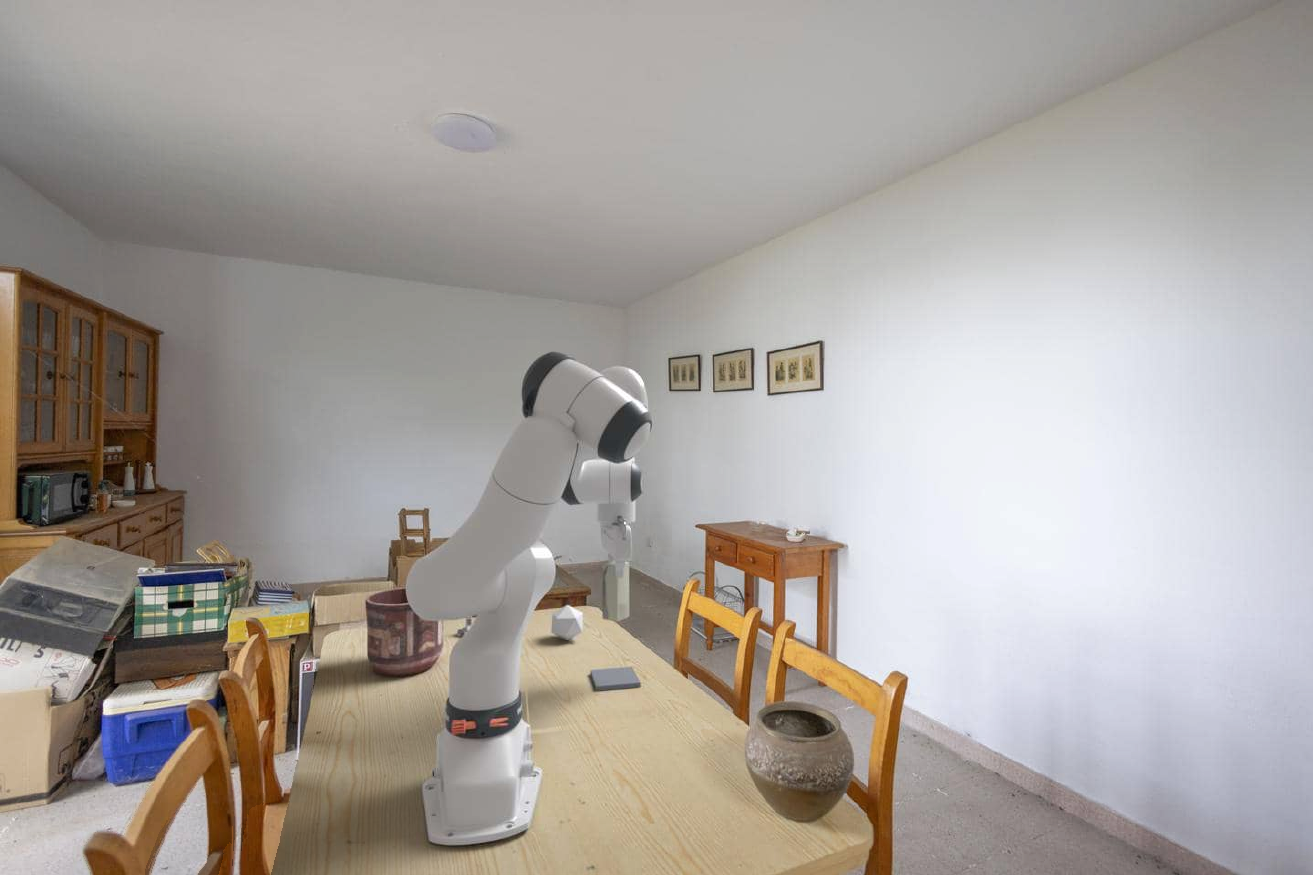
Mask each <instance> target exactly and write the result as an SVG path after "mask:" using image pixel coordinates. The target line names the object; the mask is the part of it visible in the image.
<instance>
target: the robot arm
mask: <svg viewBox="0 0 1313 875" xmlns="http://www.w3.org/2000/svg"><path fill="white" fill-rule="evenodd" d="M521 400H522V407H521V409H522V416H523V417H524V419H523V420H521V422H520V423H519V424H518V426H516V428H515V429H514V431H512V434H511V435H510V437H509V438H508V440H507V442H506V443H505V445H504V446H503V448H502V450H501V452H500V455H499V456H498V458H497V461H496V463H495V465H494V467H493V470H492V472H491V474H490V477H489V479H488V481H487V484H486V485H485V488H484V490H483V493H482V495H481V497H480V499H479V501H478V503H477V505H476V506H475V508H474V509H473V511H472V513H471V514H470V515H469V516H468V518H467V519H466V520H465V521H464V523H463V524H461V526H460V527H458V529H457V530H456V531H455V532H454V533H452V535H451V536H450V537H448V539H447V540H446V541H444V542H443V543H442V544H441V545H439V546H438V547H436V548H435V549H433V550H432V551H431V552H429V553H428V554H426V555H424V556H422V557H420V558H418V559H417V560H416V561H415V562H414V563H413V565H412V566H411V568H410V570H409V571H408V575H407V576H406V582H405V588H406V596H407V600H408V603H409V605H410V607H411V608H412V610H413V611H414V612H415V613H416V615H418V616H419V617H420V618H421V619H423V620H426V621H443V622H445V621H448V622H449V621H458V620H463V619H466V618H467V617H471V616H472V617H475V619H474V622H472V626H471V628H470V629H469V630H468V632H467V633H466V634H465V635H464V634H463V636H462V637H459V639H458V640H457V641H456V643H455V644H454V645H453V647H452V649H451V652H450V654H449V672H448V675H449V676H448V697H447V699H446V701H445V702H446V703H445V708H444V709H445V711H444V717H445V726H444V728H443V729H442V730H441V731H440V732H439V733H437V735H436V756H435V757H436V761H435V763H436V765H435V766H436V768H433V770H432V777H431V778H429V779H426V780H425V781H424V782H422V788H421V795H422V801H423V809H424V815H425V816H424V817H425V822H426V823H425V824H426V832H427V837H428V841H429V842H430V843H433V844H435V845H436V844H437V845H443V846H466V845H473V844H481V843H487V842H493V841H499V840H502V839H505V838H509V837H511V836H514V835H515V836H516V835H517V834H519V833H522V832H524V831H525V830H528V828H529V827H530V825H531V824H532V821H533V820H532V819H533V815H534V811H535V807H536V805H537V804H536V803H537V800H538V796H539V792H540V787H541V784H542V780H543V769H542V768H541V767H539V766H536V765H535V763H534V760H532V759H531V751H533V741H531V725H530V724H529V723H527V722H526V721H524V719H523V718H522V716H523V698H522V697H523V696H522V691H521V690H520V672H521V671H520V670H521V655H522V654H521V653H522V647H523V646H522V645H523V641H524V637H525V633H526V631H527V628H528V625H529V622H530V620H531V618H532V616H533V614H534V611H535V609H536V608H537V606H538V605H539V603H540V602H541V600H542V599H543V598H544V596H545V595H546V594H547V593H548V592H549V591H550V590H551V589H552V587H553V585H554V582H555V579H556V574H557V572H556V568H557V567H556V562H555V558H554V556H553V554H552V552H551V550H549V548H548V547H547V546H546V545H545V544H544V543H542V542H541V541H539V540H540V539H541V538H542V537H543V536H544V534H545V532H546V530H547V528H548V526H549V523H550V521H551V520H552V517H553V516H554V514H555V512H556V509H557V507H558V504H559V503H560V500H563V502H565V503H566V504H567V505H568V506H575V505H577V506H578V505H584V504H585V505H586V504H587V505H588V504H589V505H590V504H591V505H593V504H594V505H595V504H597V516H596V517H597V520H596V521H597V522H598V523H600V525H599V526H600V538H601V539H600V540H601V545H602V548H604V549H605V551H606V552H607V558H608V559H607V560H608V563H609V562H613V561H615V577H616V578H622V577H623V570H624V566H625V562H630V561H631V560H632V559H633V558H632V557H633V542H632V541H633V539H632V538H633V537H632V529H631V524H632V523H635V522H636V507H637V506H636V502H637V501H636V500H637V499H638V498H640V496H641V495H642V494H643V493H644V492H643V489H642V485H643V484H642V483H643V482H642V476H643V474H642V473H643V469H642V467H641V466H640V465H638V464H637V463H636V461H635V456H636V455H637V454H638V453H639V452H640V451H641V450H642V449H643V448H644V446H645V445H646V444H647V441H648V438H649V436H650V434H651V430H652V427H653V423H652V417H651V413H650V411H649V401H648V393H647V389H646V386H645V383H644V381H643V379H642V377H641V376H640V375H639V374H638V373H637V372H636V371H635V370H634V369H631V368H629V367H626V366H619V365H618V366H617V365H615V366H611V367H607V368H605V369H602V370H601V371H600V372H599V371H596V370H594V369H592V368H590V367H589V366H587V365H585V364H582V363H580V362H579V361H576V359H575V358H574V357H572V356H570V355H567V354H564V353H562V352H558V351H550V352H549V351H548V352H547V353H545V354H542V355H541V356H539V357H538V358H536V359H535V360H534V361H533V363H531V365H530V366H529V367H528V369H527V371H526V373H525V374H524V376H523V380H522V384H521Z"/></svg>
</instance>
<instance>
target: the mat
mask: <svg viewBox="0 0 1313 875" xmlns="http://www.w3.org/2000/svg"><path fill="white" fill-rule="evenodd" d="M590 676H591V679H592V683H593V685H594V688H595V690H596V692H599V691H600V692H601V691H610V690H611V691H612V690H622V689H623V690H624V689H634V688H641V681H640V680H641V679H639V677H638V675H637V673H636V672H635V670H634V668H633V667H632V666H624V667H613V668H610V667H609V668H599V669H590Z"/></svg>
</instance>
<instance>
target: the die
mask: <svg viewBox="0 0 1313 875" xmlns="http://www.w3.org/2000/svg"><path fill="white" fill-rule="evenodd" d="M551 615H552V617H551V634H553V635H554V636H557V637H559V638H561V639H563V640H565V641H569V640H571V639H573V638H575V637H577V636H579V635H580V634H582V633H583V625H584V624H583V622H584V612H582V611H580V610H578V609H576V608H574V607H572V606H570V605H569V604H566V605H565V606H563V607H561V608H559V609H558V610H556V611H554V612H552V614H551Z"/></svg>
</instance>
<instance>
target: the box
mask: <svg viewBox="0 0 1313 875" xmlns="http://www.w3.org/2000/svg"><path fill="white" fill-rule="evenodd" d="M601 595H602V598H601V599H602V607H601V608H602V620H605V621H610V622H615V623H616V622H617V623H618V622H619V621H622V620H625V619H627V618H629V617H630V562H629V561H625V566H624V570H623V577H622V578H616V577H615V561H613V562H609V561H608V562H606V563H602V594H601Z"/></svg>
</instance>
